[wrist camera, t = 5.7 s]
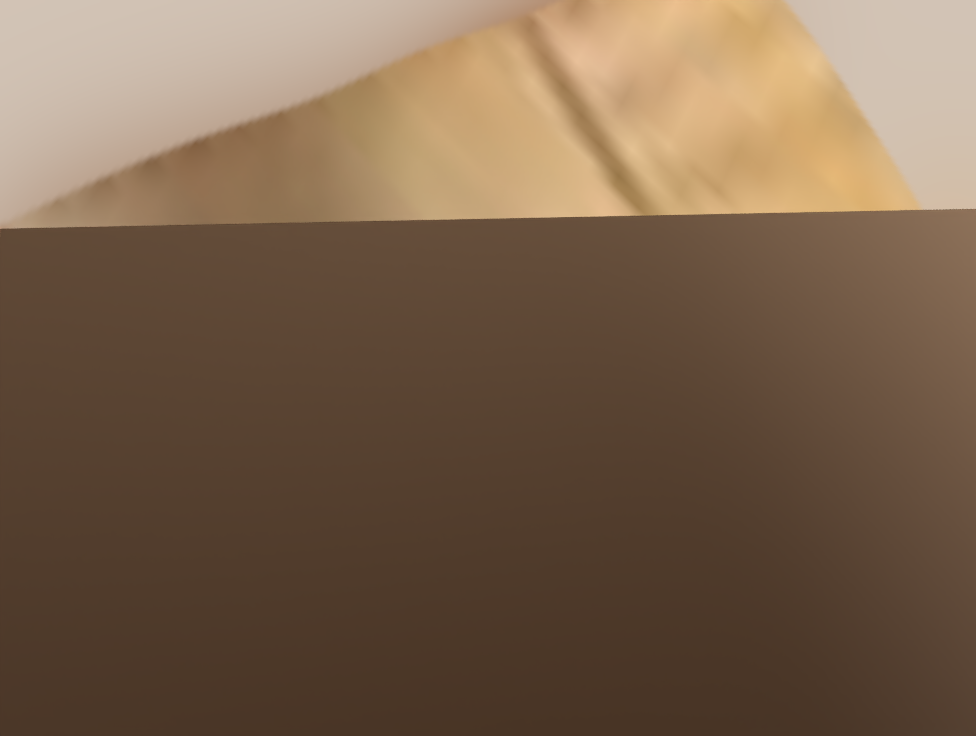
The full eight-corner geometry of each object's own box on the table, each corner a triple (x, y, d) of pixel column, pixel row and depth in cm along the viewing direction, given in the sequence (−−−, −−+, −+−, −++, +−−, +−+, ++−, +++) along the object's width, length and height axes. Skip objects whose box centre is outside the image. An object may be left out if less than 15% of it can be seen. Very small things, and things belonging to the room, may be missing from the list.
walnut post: (592, 789, 15) (1577, 1636, 3) (292, 824, 15) (-91, 2153, 2) (564, 494, 17) (1189, 203, 4) (284, 513, 16) (-1, 228, 3)
